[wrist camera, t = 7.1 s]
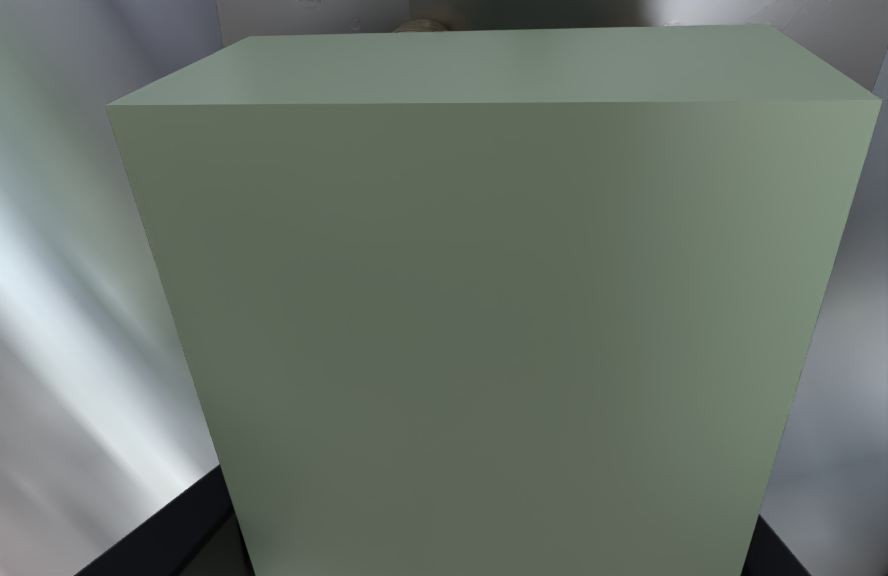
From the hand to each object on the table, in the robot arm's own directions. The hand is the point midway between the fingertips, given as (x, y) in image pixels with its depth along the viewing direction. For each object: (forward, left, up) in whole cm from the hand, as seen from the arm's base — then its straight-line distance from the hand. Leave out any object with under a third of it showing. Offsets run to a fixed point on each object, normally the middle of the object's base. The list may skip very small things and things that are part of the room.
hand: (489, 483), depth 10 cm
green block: (0, 0, -1) cm, 1 cm away
